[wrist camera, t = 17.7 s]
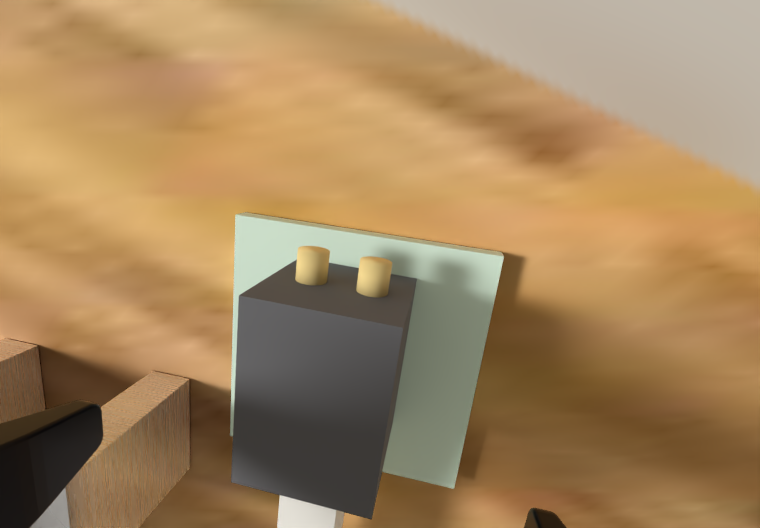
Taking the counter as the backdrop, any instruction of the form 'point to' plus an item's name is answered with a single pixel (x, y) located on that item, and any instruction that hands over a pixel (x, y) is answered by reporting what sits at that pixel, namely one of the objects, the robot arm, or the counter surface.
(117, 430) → the housing
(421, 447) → the mat
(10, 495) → the robot arm
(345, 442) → the plug
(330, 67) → the counter surface
